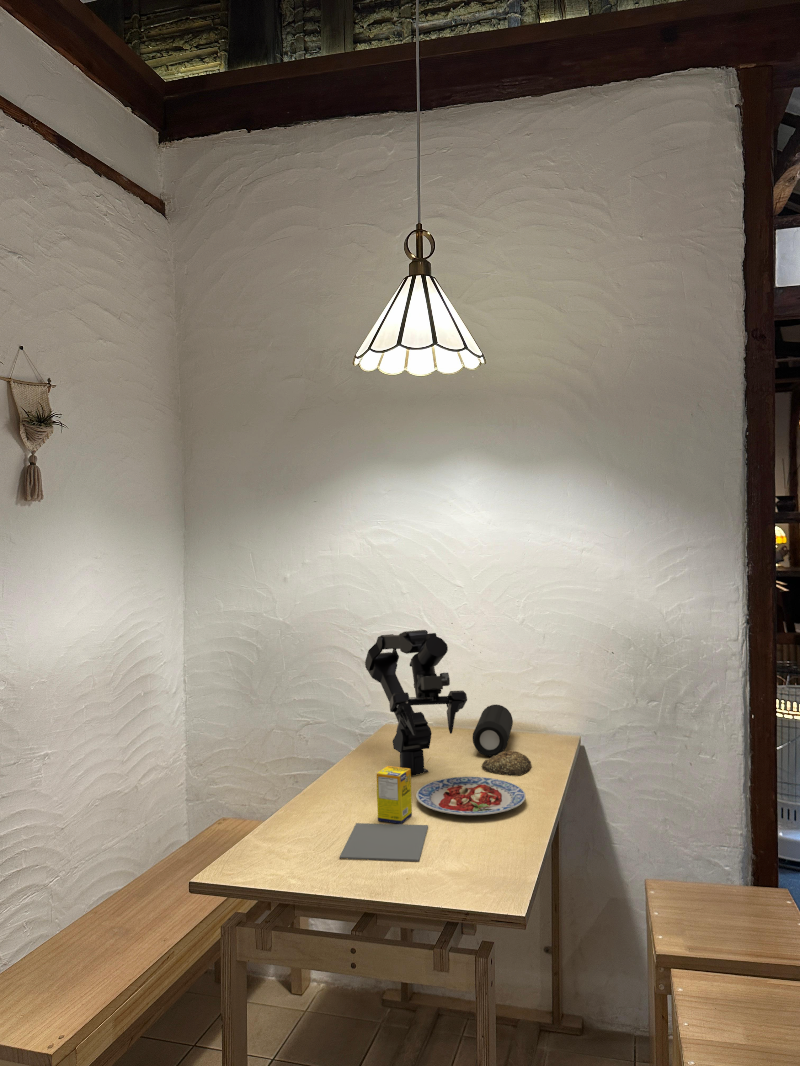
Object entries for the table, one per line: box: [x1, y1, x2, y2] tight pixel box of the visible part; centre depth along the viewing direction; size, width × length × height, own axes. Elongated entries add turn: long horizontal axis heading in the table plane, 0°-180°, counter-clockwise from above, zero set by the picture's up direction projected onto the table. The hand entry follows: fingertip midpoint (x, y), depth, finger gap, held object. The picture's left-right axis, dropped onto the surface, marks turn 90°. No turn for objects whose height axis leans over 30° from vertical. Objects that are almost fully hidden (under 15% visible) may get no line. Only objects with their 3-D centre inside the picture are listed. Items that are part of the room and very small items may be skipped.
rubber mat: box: [338, 822, 429, 862], centre depth 172 cm, size 18×16×1 cm
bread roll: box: [481, 749, 532, 776], centre depth 220 cm, size 13×12×5 cm
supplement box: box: [376, 765, 413, 824], centre depth 186 cm, size 6×6×11 cm
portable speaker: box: [472, 704, 514, 757], centre depth 241 cm, size 26×10×10 cm, turn 168°
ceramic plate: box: [415, 776, 527, 816], centre depth 195 cm, size 26×26×3 cm
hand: (432, 733), depth 200 cm, fingers open, 9 cm apart
